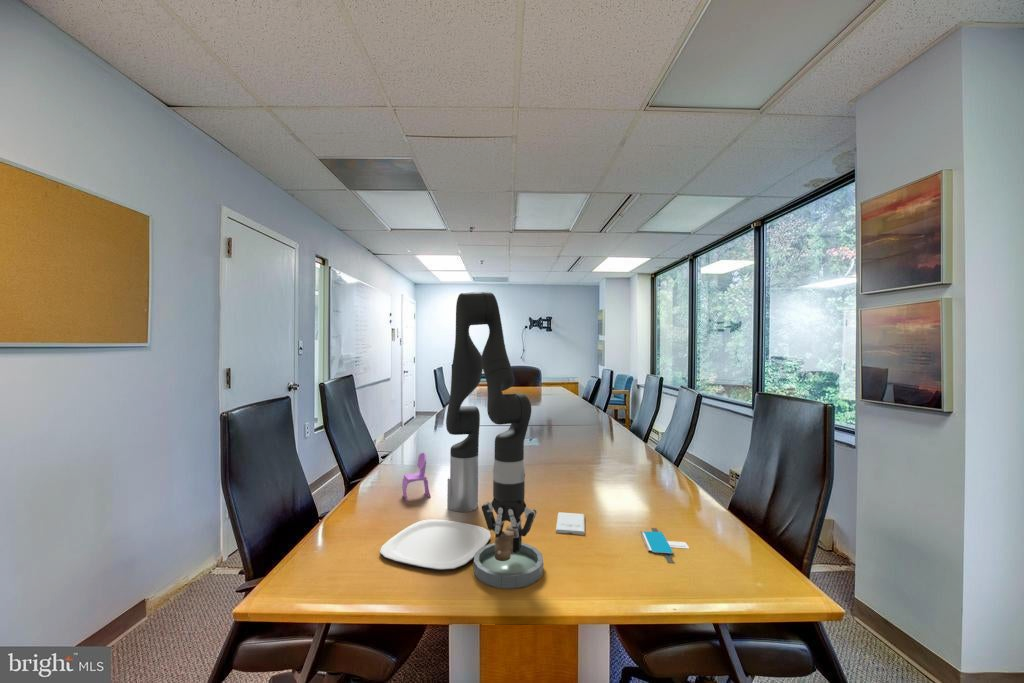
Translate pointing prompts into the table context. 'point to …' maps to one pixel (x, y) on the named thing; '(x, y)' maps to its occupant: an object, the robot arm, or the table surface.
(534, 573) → the round tray
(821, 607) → the table surface
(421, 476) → the toy chair
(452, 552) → the plate
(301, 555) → the table surface
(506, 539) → the bead string
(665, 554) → the blue flat panel
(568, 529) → the external hard drive
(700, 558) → the table surface
